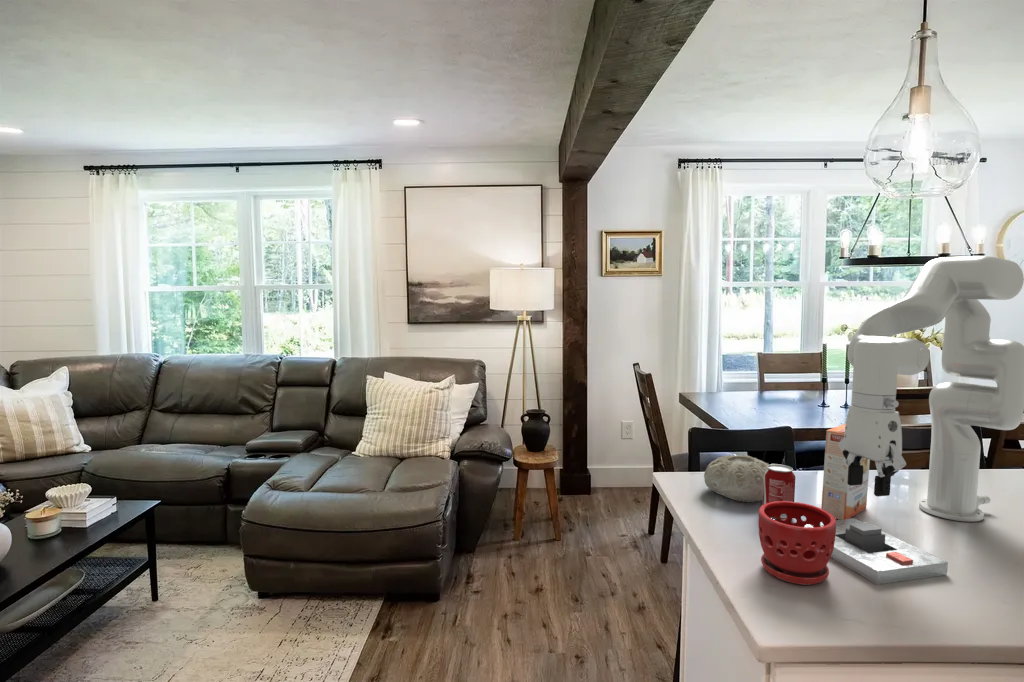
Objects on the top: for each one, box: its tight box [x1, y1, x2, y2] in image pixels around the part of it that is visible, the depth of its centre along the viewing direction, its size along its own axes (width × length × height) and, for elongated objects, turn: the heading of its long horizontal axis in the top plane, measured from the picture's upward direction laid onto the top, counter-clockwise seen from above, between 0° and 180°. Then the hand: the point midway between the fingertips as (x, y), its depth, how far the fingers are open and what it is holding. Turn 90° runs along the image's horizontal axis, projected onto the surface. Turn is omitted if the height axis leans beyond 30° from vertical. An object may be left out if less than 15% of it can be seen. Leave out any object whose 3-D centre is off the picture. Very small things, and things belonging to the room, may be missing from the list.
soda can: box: [762, 463, 796, 520], centre depth 139 cm, size 7×7×12 cm
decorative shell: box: [703, 454, 769, 503], centre depth 154 cm, size 18×18×10 cm
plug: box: [845, 522, 885, 553], centre depth 120 cm, size 5×4×5 cm
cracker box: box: [820, 422, 871, 520], centre depth 142 cm, size 14×6×21 cm, turn 131°
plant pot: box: [757, 501, 837, 586], centre depth 111 cm, size 13×13×12 cm
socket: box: [804, 517, 949, 586], centre depth 120 cm, size 16×22×3 cm
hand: (868, 489), depth 119 cm, fingers open, 5 cm apart
